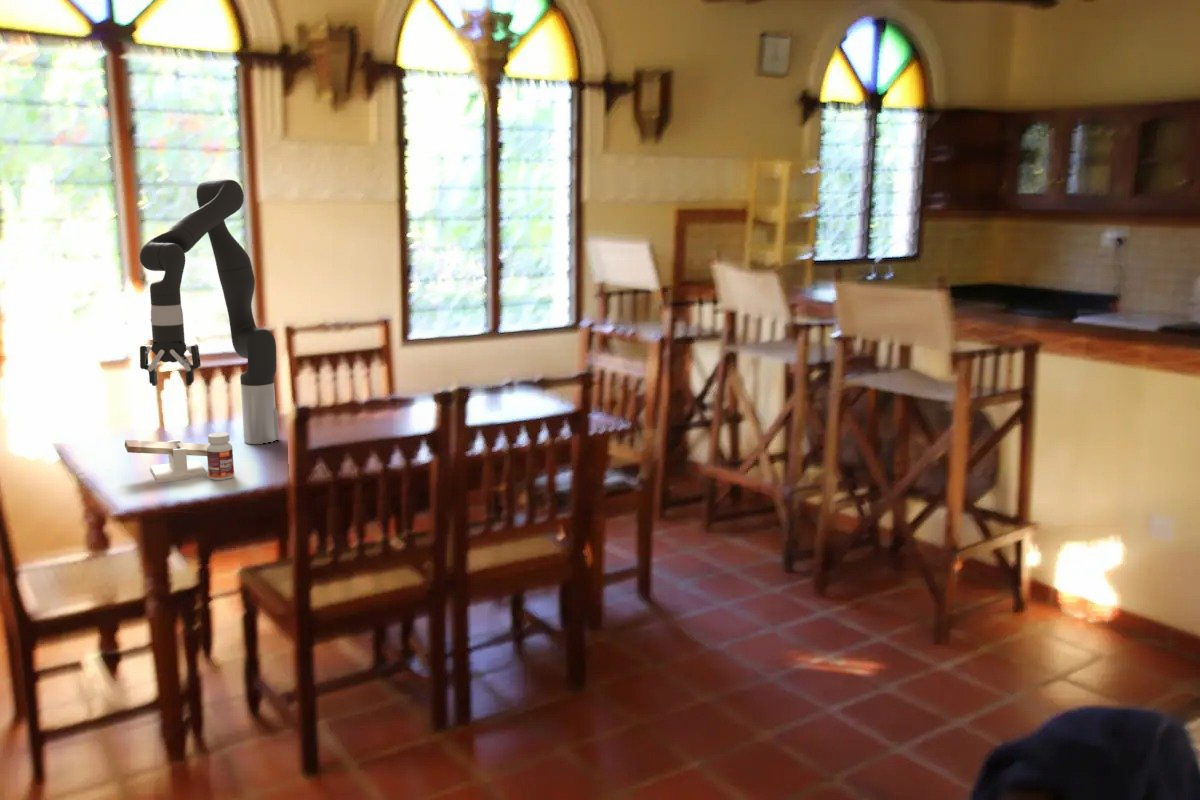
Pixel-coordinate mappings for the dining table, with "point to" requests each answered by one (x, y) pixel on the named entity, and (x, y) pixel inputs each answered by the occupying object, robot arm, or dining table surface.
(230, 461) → the pill bottle
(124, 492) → the dining table surface
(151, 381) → the robot arm
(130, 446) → the board
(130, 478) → the dining table surface
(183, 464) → the pivot stand
